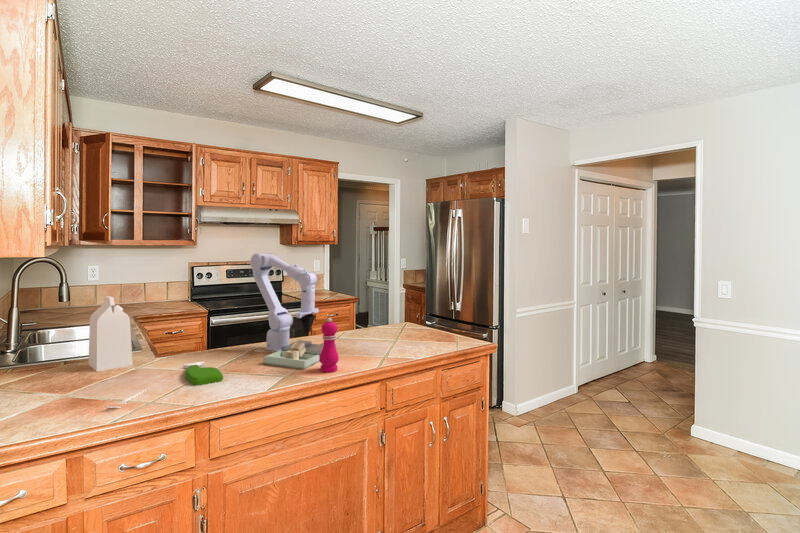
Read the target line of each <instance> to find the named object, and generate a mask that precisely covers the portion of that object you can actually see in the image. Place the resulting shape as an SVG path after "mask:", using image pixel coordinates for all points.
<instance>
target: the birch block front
mask: <svg viewBox="0 0 800 533" xmlns="http://www.w3.org/2000/svg"><path fill="white" fill-rule="evenodd" d="M285 358H288V359H296V360H299V351H297V350H289V351H286V352H285Z"/></svg>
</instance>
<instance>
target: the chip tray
mask: <svg viewBox="0 0 800 533" xmlns="http://www.w3.org/2000/svg"><path fill="white" fill-rule="evenodd" d="M285 352H286V351H281V350H280V351H274V352H272V353H270V354H268V355H264V356H263V364H264V365H270V366H277V367H285V368H290V369H300V370H306V369H308V368H309V367H312V366H313V365H315V364H317V363H320V361H319V355H313V354H303V355H302V357H299V360H296V359H288V358H285Z"/></svg>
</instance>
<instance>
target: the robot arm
mask: <svg viewBox="0 0 800 533" xmlns="http://www.w3.org/2000/svg"><path fill="white" fill-rule="evenodd" d="M249 265H250V267H251V269H252V276H253V279H254V281H255V283H256V285H257V287H258V289H259V291H260V294H261V295H262V298H263V300H264V302H265V304H266V307H267V308H268V314H267V319H268V324H269V325H268V326H269V328H270V329H268V331H267V332H266V343H265V344H266V348H265V350H266V351H273V352H277V351H280V350H281V347H283V346H286V345H288V344H290V329H291V326H292V325H293V322H294V318H293V316H292V315H291V314H290V313H289V312H288V309H287V308H285V307H283V306H282V304H281V302H280V300H279V299H278V298H279V297H278V295H277V294H276V292H275V290H274V288H273V284H272V283H271V281H270V279H269V276H268V275H269V273H270V271H271V270H272V269H273V267H275V268H277V269H279V270H281V271H283V272H285V273H286V275H287V277H289V278H291V279H293V280H295V281H297V282H298V284H299V285H300V291H301V294H300V303H301V304H300V310H299V311H298V312H296V317H295V318H296V319H297V318H298V319H300V321H301V323H302V326H303V330H304V333H311V330H312V328H313V324H314V322H315V319H317V318H316V317H317V315H315V314H318V313H319V311H320V310H319V308H318V307H316V308H315V306H316V304H315V303H316V302H315V300H316V294H315V293H316V284H317V283H318V278H319V277H318V275H317V273H315V272H314V271H310V272H308V269H305V268H302V267H301V266H300V265H299V264H289V263H287V262H286V261H284V260H282V259H281V258H279V257H278V256H277V255H275V254H273V253H271V252H267V253H254V254H253V255H251V258H250V261H249Z"/></svg>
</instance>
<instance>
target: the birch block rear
mask: <svg viewBox="0 0 800 533" xmlns="http://www.w3.org/2000/svg"><path fill="white" fill-rule="evenodd" d="M294 342H295V343H294ZM294 342H293V343H294V344H293V346H292V347H291V350H297V351H299V357H302V355H303V354H304V353H305V352H306V349H305V345H304V343H298V342H296V341H294Z"/></svg>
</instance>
